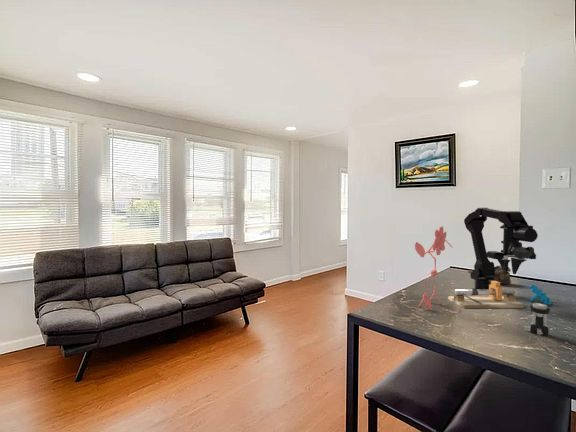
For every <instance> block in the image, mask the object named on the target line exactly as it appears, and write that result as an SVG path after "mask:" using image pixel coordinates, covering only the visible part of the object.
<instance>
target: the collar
mask: <svg viewBox="0 0 576 432" xmlns="http://www.w3.org/2000/svg"><path fill="white" fill-rule="evenodd" d="M489 289H496V295H488V296H489V297H492V298H494V299H496V300H502V296H503V295H502V289H503V287H501V282H497V281H491V284H489Z"/></svg>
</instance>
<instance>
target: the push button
mask: <svg viewBox="0 0 576 432" xmlns="http://www.w3.org/2000/svg"><path fill="white" fill-rule="evenodd" d="M529 308H530V311H531V312H532V322H531V323H530V325H529V326H526V325H524V330H525V331H529V332H530V333H532V334H537V335H539V336H545V337H549V327H548V324H547V315H549V314H550V311H551V308H550V307H548V305H547V304H544V303H542V302H541V303H540V302H533V304H531V305H529Z"/></svg>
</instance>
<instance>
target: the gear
mask: <svg viewBox="0 0 576 432" xmlns="http://www.w3.org/2000/svg"><path fill="white" fill-rule="evenodd" d="M529 288H530V291H531V292H532V293H534V294H533V295H534V296H533V297H531V298H529V301H530V302H533V301H535V300H537V301H540V302H542V301H543V303H542V304H545V305H547V306H551V305H552V301H551V299H550V297H549V296H548V295H547V292H546V291H544V292H543V290H542V288H539V286H537V285H534V284H531V285H530V286H529Z"/></svg>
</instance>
